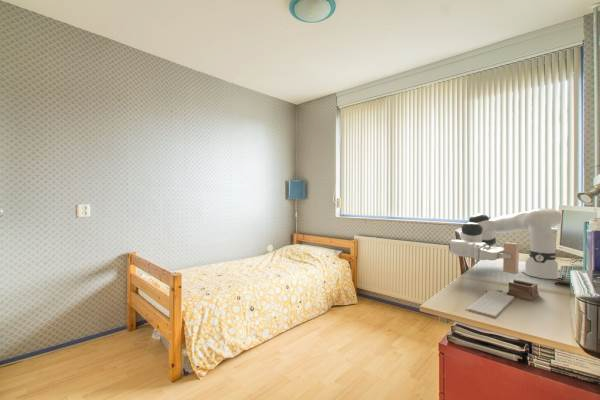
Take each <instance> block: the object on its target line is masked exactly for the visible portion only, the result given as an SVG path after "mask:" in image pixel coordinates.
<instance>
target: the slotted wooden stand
mask: <svg viewBox="0 0 600 400" xmlns="http://www.w3.org/2000/svg"><path fill="white" fill-rule="evenodd" d="M507 293H508V294H507ZM506 295H509V296H514V299H515V298H517V299H520V300H524V301H528V302H531V301H533V300H534V299H535V298H536V297H537V296H539V291H538V283H533V282H528V281H523V280H518V279H513V282H510V281H509V282H508V291H507V292H506Z"/></svg>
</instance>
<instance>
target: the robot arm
mask: <svg viewBox="0 0 600 400" xmlns="http://www.w3.org/2000/svg"><path fill="white" fill-rule="evenodd" d="M468 220H469V222H466V223H463V225H461V231H462V232H461V231H460V233H461V240H460V239H450V240H449V243H448V251H449V253H450V254H453V255H455V256H458V257H463V258H470V259H474V260H477V261H479V260H480V261H481V260H482V261H496V260H500V259H504V258H509V259H510V258H512V255H511V254H504V247H500V246H493V245H495V244H496V242H497V239H496V237H495V233H496V234H497V233H498V234H505V233H506V234H508V233H515V232H524V231H529V238H530V244H529V245H530V247H529V248H530V249H529V252H528V256H529V257H528V258H526V259H525V267H524V268H525V269H523V270H521V273H523V274H526V275H528V276H531V277H534V278H539V279H545V280H559V279H558V278H559V272H561V270H560V269H559V263H558V262H557V253H556V238H555V237H554V235H553V231H552V228H554V227H556V226H558V225H560V224H561V223H562V221H563V215H562V213H561V212H560V211H558V210H556V209H553V208H534V209H531V210H529V211H522V212H517V213H512V214H511V213H509V214H505V215H500V216H497V217H493V218H492V219H491V216H488V215H487V214H485V213H475V214H473V215H471V216H470V217H469V218H468Z"/></svg>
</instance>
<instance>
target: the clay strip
mask: <svg viewBox="0 0 600 400" xmlns="http://www.w3.org/2000/svg"><path fill="white" fill-rule="evenodd" d="M503 248H504V254H511V255H512V258H510V259H509V258H502V259H503V262H502V263H503V265H502V272H503V273H508V274H513V275H516V274H518V273H519V258H520V243H518V242H510V241H509V242H508V241H506V242H503Z"/></svg>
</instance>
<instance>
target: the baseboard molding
mask: <svg viewBox="0 0 600 400" xmlns="http://www.w3.org/2000/svg"><path fill="white" fill-rule="evenodd" d="M488 290H491V289H489V288H488V289H486V290H484V292H485V293H484V294H483V295H482V296H480V297H479V298H478V299H477V300H475V301H474V302H473V303H471V304H470V305H469V306H468V307H466V308H465V311H468V312H471V313H475V314H479V315H482V316H486V317H489V318H493V319H495V318H497V317H498V316H499V314H500V313H502V312H503V310H504V309H505V308H506V307H507V306H508V305H509V304H510V303H511V302H512V301H513V300H514V299H515V297H514V296H509V295H507V294H508V293H507V292H506V293H505V294H502V293H503V290H499V289H496V292H495V291H490V292H489V291H488Z"/></svg>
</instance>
